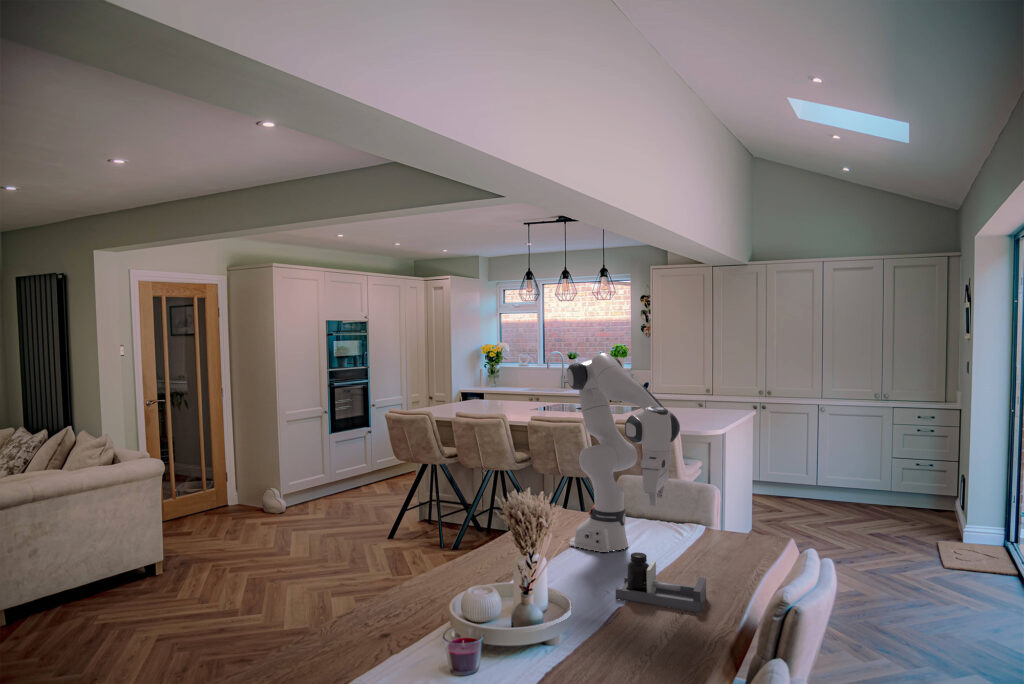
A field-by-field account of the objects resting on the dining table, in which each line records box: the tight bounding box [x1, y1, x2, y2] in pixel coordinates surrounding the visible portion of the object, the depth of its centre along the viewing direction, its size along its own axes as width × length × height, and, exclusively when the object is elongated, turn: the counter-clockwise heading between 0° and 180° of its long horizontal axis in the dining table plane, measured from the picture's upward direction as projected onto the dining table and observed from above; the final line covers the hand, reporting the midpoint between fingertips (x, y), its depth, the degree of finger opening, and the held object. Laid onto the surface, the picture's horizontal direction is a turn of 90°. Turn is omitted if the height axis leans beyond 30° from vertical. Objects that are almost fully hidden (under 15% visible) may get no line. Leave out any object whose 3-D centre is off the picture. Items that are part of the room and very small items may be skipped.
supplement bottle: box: [627, 552, 650, 593], centre depth 197 cm, size 7×7×12 cm
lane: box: [615, 576, 707, 614], centre depth 194 cm, size 25×11×6 cm, turn 65°
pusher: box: [647, 560, 680, 594], centre depth 193 cm, size 9×8×9 cm
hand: (656, 501), depth 204 cm, fingers open, 8 cm apart
